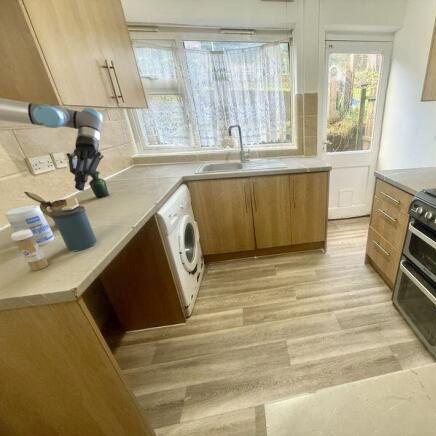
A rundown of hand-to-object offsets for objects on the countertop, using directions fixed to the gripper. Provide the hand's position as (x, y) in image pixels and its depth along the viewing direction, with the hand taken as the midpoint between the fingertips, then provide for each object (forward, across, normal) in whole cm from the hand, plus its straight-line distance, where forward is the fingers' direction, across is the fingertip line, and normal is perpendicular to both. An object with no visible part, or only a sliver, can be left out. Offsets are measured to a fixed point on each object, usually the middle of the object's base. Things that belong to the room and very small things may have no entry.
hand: (79, 189), depth 96 cm
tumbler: (+22, 0, -7) cm, 23 cm away
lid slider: (+9, 0, +2) cm, 10 cm away
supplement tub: (+17, +20, -12) cm, 28 cm away
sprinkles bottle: (+31, +6, +2) cm, 31 cm away
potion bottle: (-27, +25, -56) cm, 67 cm away
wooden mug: (+3, +22, -26) cm, 34 cm away
